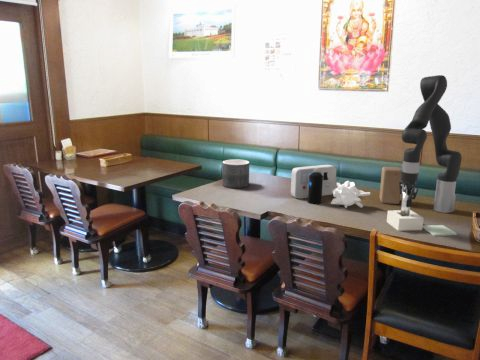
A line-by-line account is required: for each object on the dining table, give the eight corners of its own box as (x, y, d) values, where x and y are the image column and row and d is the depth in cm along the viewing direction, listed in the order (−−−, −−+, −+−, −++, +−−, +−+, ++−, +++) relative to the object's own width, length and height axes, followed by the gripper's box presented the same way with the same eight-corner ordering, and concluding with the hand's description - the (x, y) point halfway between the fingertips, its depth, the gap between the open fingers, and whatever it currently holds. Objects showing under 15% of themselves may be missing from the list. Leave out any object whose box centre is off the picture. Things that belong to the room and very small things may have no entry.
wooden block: (399, 204, 230) (403, 170, 225) (381, 203, 232) (384, 169, 227) (396, 199, 239) (400, 166, 234) (378, 198, 241) (382, 166, 236)
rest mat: (442, 226, 196) (442, 225, 196) (456, 235, 186) (456, 233, 185) (421, 227, 195) (421, 225, 195) (434, 235, 184) (434, 234, 184)
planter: (249, 188, 261) (249, 165, 257) (221, 188, 261) (221, 164, 257) (248, 181, 278) (249, 159, 274) (223, 181, 278) (223, 159, 274)
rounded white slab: (296, 200, 237) (298, 170, 233) (290, 196, 244) (291, 167, 239) (337, 195, 248) (339, 166, 243) (329, 192, 255) (331, 164, 250)
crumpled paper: (340, 190, 212) (339, 168, 221) (326, 207, 225) (326, 187, 234) (375, 199, 214) (372, 177, 224) (359, 216, 228) (357, 195, 237)
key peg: (406, 214, 198) (410, 186, 194) (411, 217, 194) (414, 189, 190) (398, 214, 197) (401, 186, 194) (402, 217, 193) (405, 189, 190)
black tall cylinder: (323, 201, 235) (325, 167, 230) (319, 205, 228) (321, 170, 223) (309, 199, 238) (311, 166, 233) (305, 203, 231) (307, 169, 226)
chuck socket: (409, 221, 203) (410, 209, 202) (422, 229, 192) (423, 218, 190) (386, 221, 202) (387, 210, 200) (398, 230, 190) (399, 218, 189)
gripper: (425, 174, 184) (421, 210, 188) (410, 167, 197) (406, 201, 201) (410, 174, 183) (406, 210, 187) (395, 167, 197) (391, 201, 201)
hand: (406, 205), depth 194 cm, fingers closed on key peg, 4 cm apart
